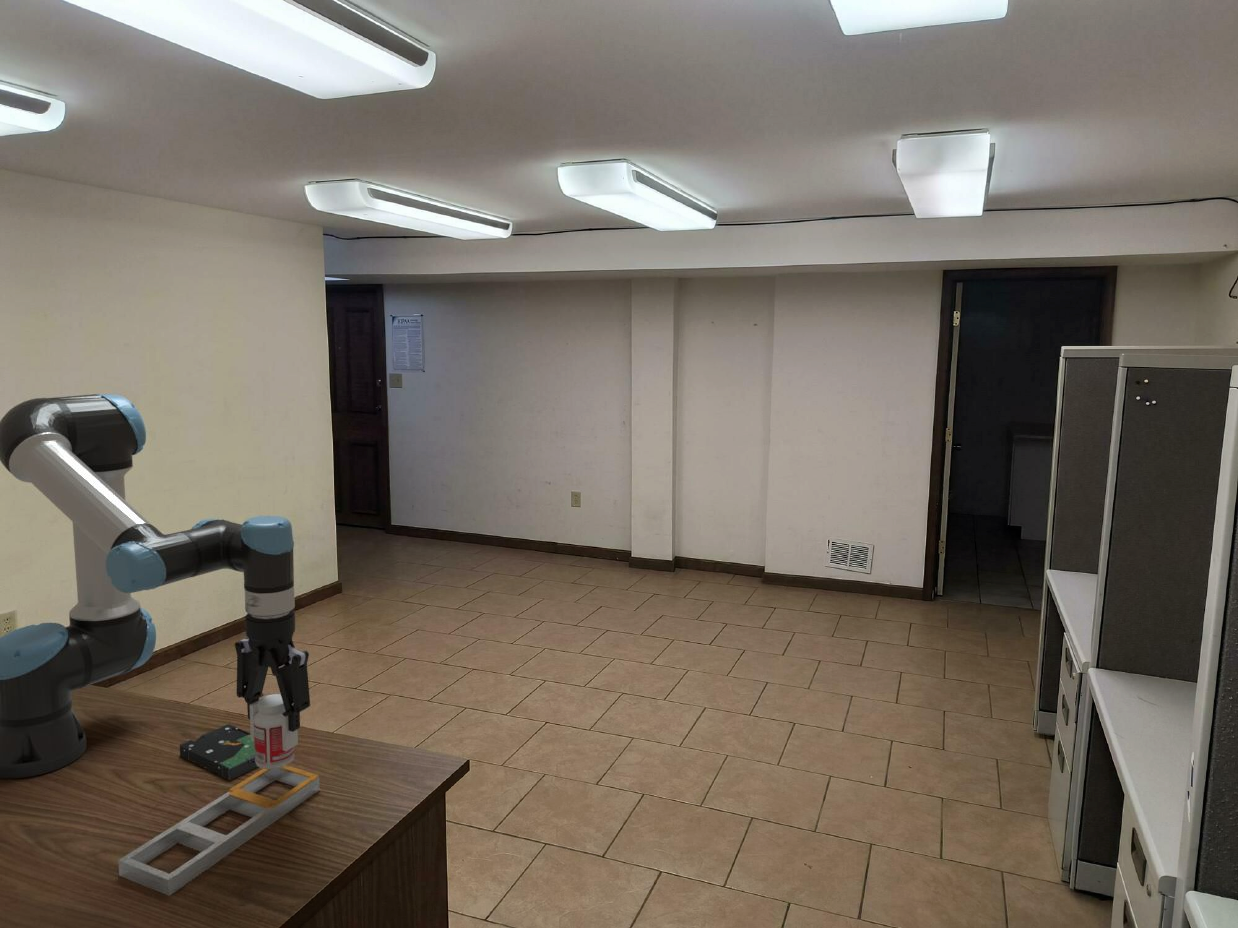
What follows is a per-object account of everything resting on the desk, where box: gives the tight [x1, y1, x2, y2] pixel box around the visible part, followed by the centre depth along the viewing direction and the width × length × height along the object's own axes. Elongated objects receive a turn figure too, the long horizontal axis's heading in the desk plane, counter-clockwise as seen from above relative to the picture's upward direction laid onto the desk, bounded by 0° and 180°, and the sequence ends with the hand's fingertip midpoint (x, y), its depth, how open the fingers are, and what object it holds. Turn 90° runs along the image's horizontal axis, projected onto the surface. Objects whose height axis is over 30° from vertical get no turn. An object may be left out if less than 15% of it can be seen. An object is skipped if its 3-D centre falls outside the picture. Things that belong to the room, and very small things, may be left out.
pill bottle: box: [254, 693, 295, 769], centre depth 141 cm, size 6×6×11 cm
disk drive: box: [179, 723, 259, 781], centre depth 156 cm, size 10×3×15 cm
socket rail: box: [118, 765, 320, 897], centre depth 134 cm, size 10×30×3 cm, turn 158°
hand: (274, 742), depth 142 cm, fingers closed on pill bottle, 6 cm apart
